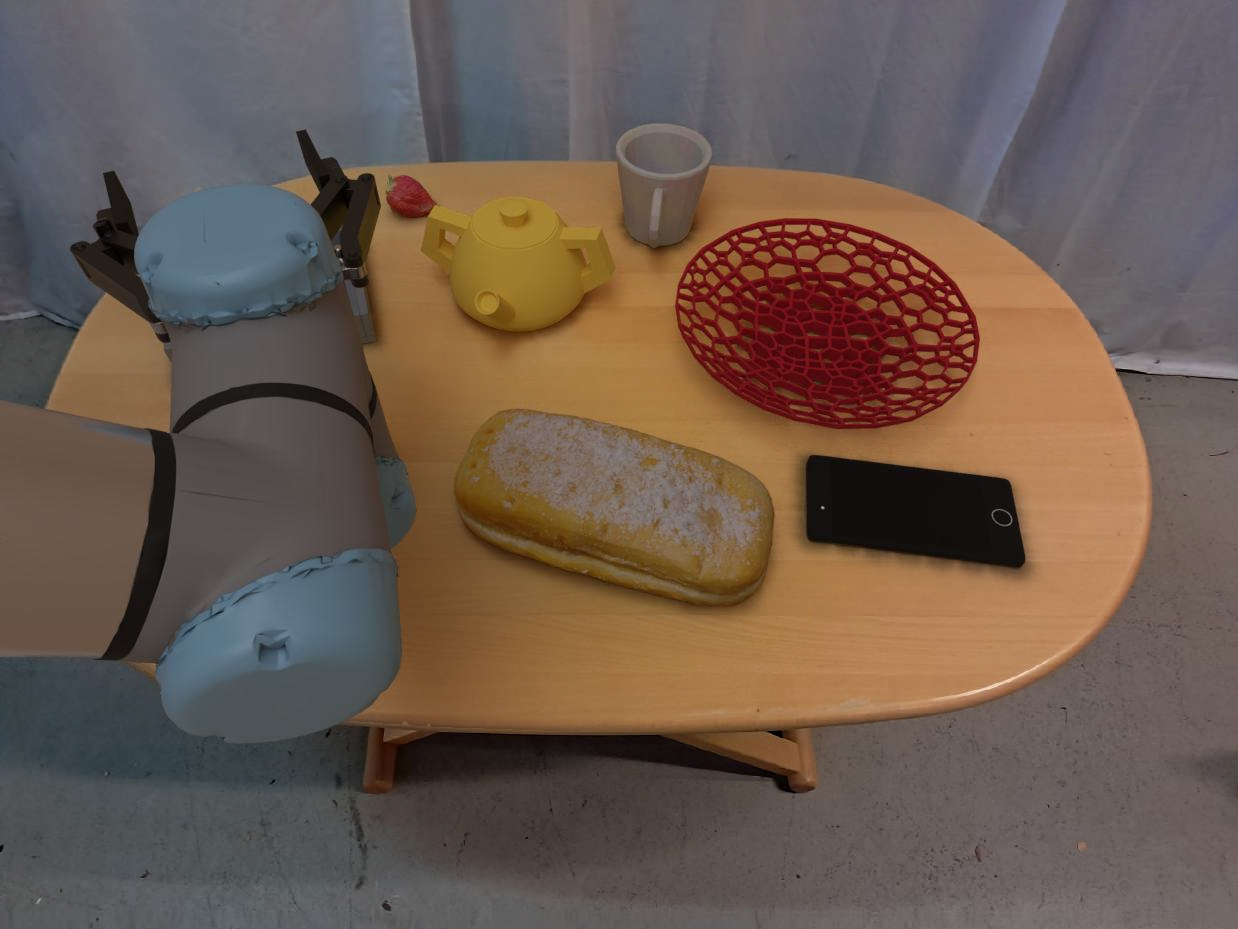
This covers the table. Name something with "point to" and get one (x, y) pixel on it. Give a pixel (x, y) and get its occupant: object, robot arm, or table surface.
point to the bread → (617, 506)
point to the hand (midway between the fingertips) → (214, 166)
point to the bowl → (824, 327)
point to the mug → (661, 180)
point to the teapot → (517, 262)
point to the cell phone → (912, 510)
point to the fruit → (408, 197)
